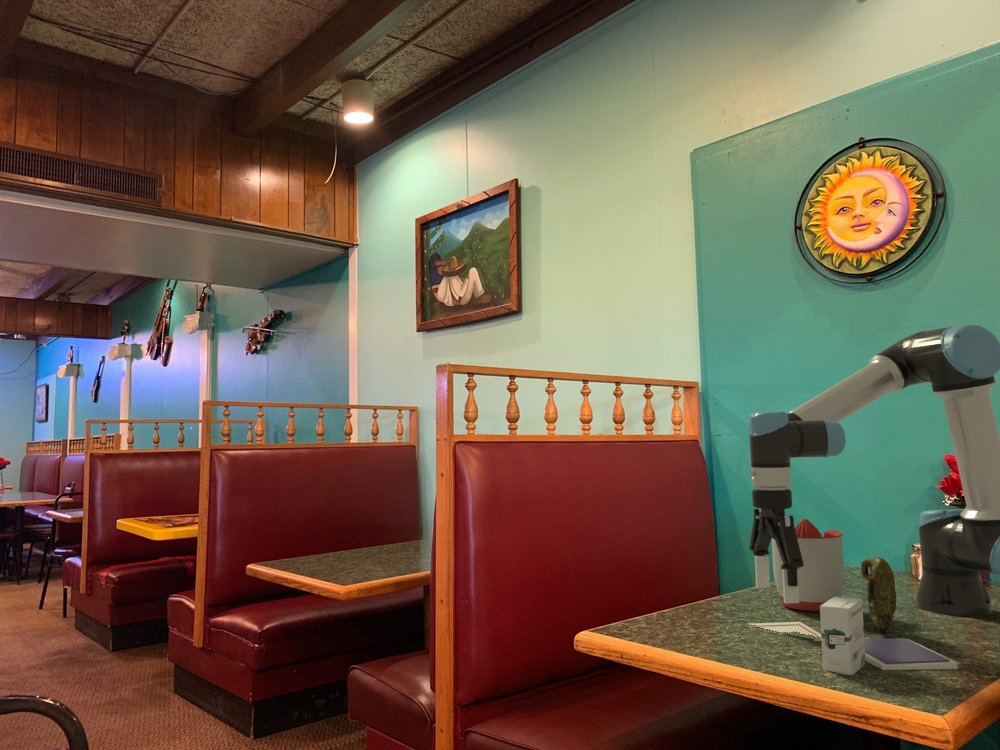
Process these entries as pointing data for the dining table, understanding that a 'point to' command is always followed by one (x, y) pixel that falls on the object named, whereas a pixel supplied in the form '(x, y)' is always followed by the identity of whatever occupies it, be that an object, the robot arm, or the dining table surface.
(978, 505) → the robot arm
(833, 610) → the ink box
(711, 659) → the dining table surface
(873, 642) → the ink pad
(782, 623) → the paper
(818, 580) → the citrus juicer
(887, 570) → the brown mottled tapered part
